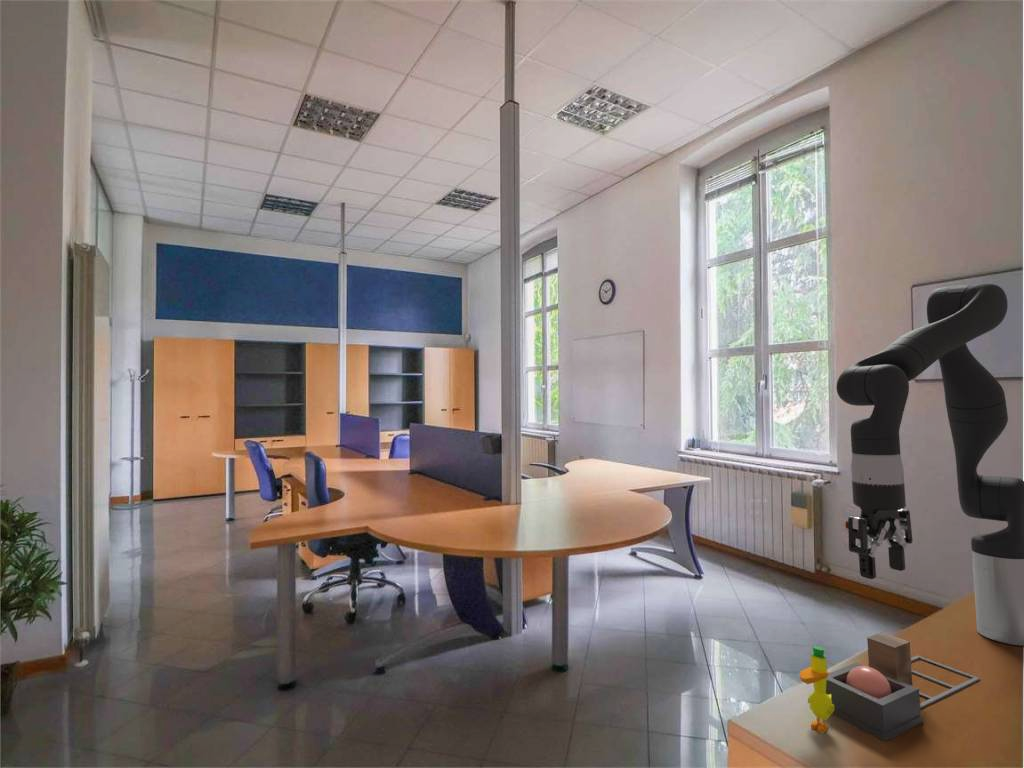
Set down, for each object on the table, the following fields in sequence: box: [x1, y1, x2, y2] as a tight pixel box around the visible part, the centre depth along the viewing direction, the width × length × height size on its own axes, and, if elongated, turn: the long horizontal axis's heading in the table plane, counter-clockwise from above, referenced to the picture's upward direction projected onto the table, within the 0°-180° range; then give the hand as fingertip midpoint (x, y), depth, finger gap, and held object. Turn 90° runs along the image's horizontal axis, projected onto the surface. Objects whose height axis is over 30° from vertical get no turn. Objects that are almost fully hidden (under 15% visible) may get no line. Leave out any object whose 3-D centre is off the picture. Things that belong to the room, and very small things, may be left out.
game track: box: [911, 655, 981, 710], centre depth 92 cm, size 22×10×1 cm, turn 116°
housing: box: [826, 662, 924, 742], centre depth 84 cm, size 10×10×5 cm
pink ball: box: [846, 665, 892, 699], centre depth 84 cm, size 6×6×6 cm
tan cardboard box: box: [866, 631, 913, 686], centre depth 89 cm, size 4×4×9 cm
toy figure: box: [798, 645, 834, 734], centre depth 80 cm, size 7×4×12 cm, turn 116°
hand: (883, 573), depth 90 cm, fingers open, 8 cm apart
